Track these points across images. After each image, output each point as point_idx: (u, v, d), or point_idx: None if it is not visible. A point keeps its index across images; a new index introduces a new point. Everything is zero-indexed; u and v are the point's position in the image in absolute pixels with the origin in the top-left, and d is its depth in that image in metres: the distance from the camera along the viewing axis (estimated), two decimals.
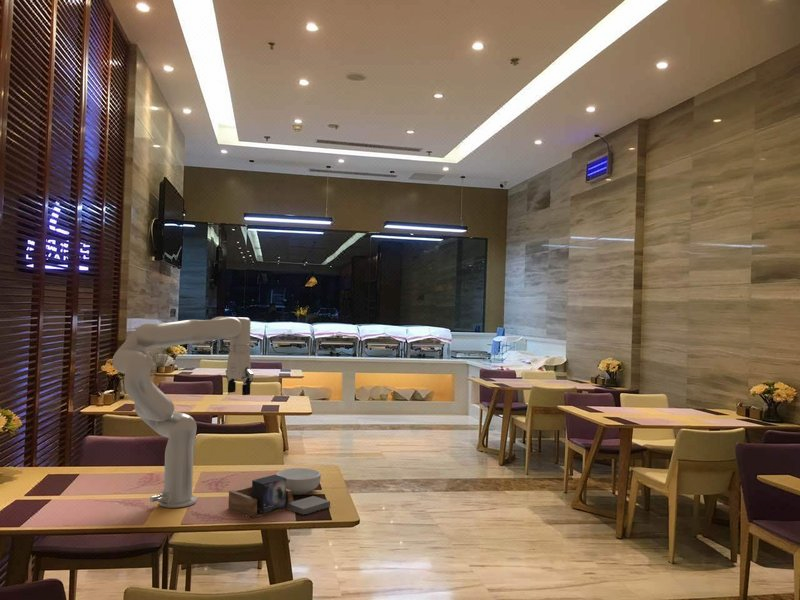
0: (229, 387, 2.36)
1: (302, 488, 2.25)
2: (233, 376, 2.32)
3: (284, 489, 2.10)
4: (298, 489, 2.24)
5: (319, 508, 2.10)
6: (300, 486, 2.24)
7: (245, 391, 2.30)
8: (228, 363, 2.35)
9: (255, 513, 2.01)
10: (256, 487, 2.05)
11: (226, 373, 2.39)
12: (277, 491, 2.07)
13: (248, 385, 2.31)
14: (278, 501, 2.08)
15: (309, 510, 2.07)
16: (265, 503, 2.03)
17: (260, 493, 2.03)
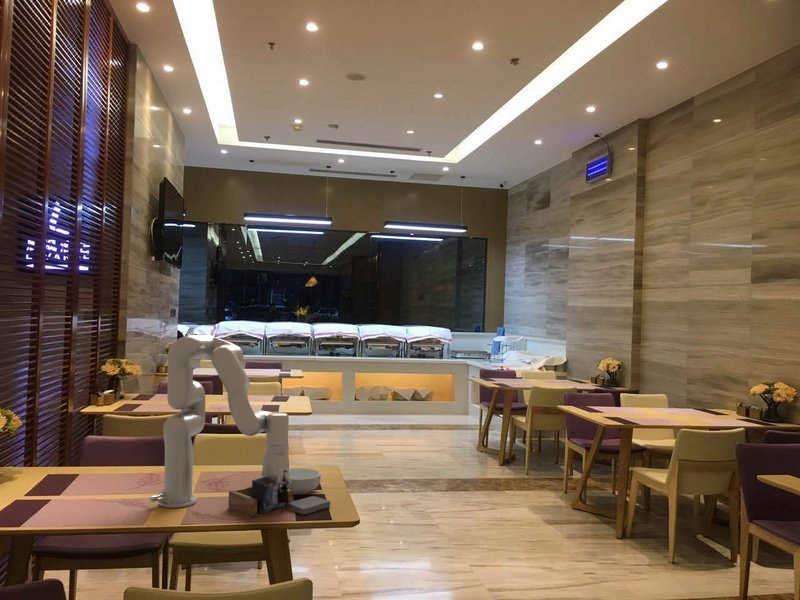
0: None
1: (302, 488, 2.25)
2: None
3: None
4: (298, 489, 2.24)
5: (319, 508, 2.10)
6: (300, 486, 2.24)
7: (281, 499, 2.07)
8: (264, 464, 2.11)
9: (255, 513, 2.01)
10: (256, 487, 2.05)
11: None
12: (277, 491, 2.07)
13: (284, 492, 2.08)
14: None
15: (309, 510, 2.07)
16: (265, 503, 2.03)
17: (260, 493, 2.03)
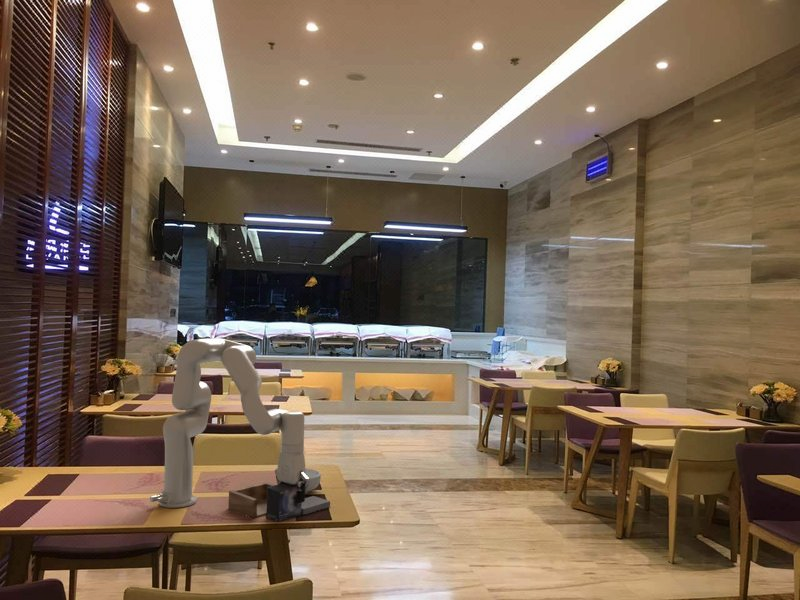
0: None
1: None
2: (285, 480, 2.03)
3: None
4: None
5: (319, 508, 2.10)
6: None
7: (300, 498, 2.01)
8: (279, 464, 2.06)
9: (255, 513, 2.01)
10: (271, 495, 1.99)
11: (276, 473, 2.10)
12: (293, 498, 2.02)
13: (303, 491, 2.01)
14: (294, 509, 2.02)
15: (309, 510, 2.07)
16: (281, 511, 1.98)
17: (276, 501, 1.98)
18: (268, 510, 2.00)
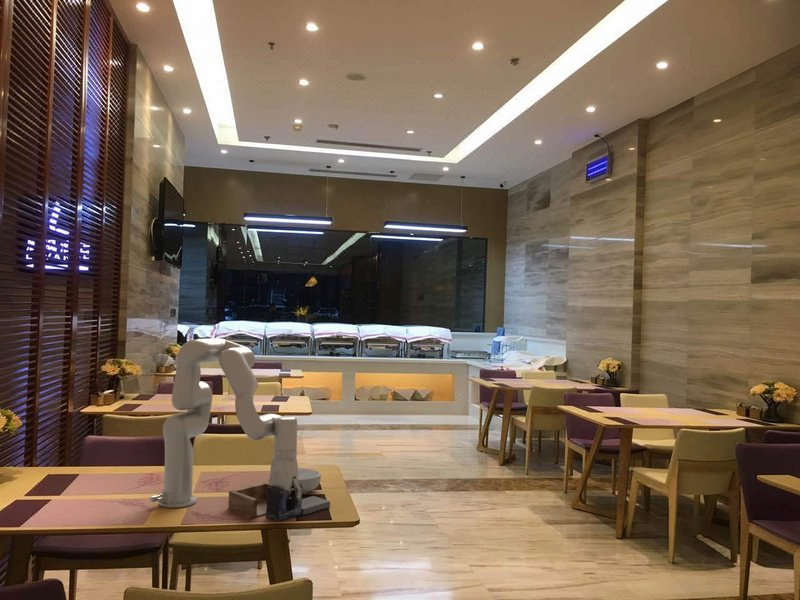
0: None
1: (302, 488, 2.25)
2: (278, 486, 2.00)
3: (300, 496, 2.04)
4: None
5: (319, 508, 2.10)
6: None
7: (290, 506, 1.99)
8: (272, 470, 2.03)
9: (255, 513, 2.01)
10: (271, 494, 1.99)
11: None
12: None
13: (293, 499, 2.00)
14: (294, 509, 2.02)
15: (309, 510, 2.07)
16: (281, 511, 1.98)
17: (276, 501, 1.98)
18: (268, 510, 2.00)
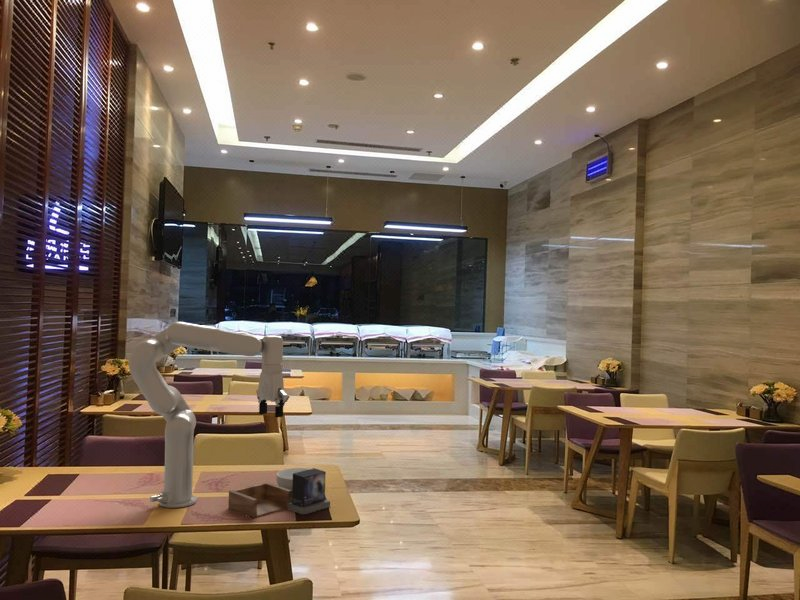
0: (260, 408, 2.26)
1: None
2: (265, 397, 2.21)
3: (323, 482, 2.14)
4: None
5: (319, 508, 2.10)
6: None
7: (278, 413, 2.19)
8: (260, 383, 2.24)
9: (255, 513, 2.01)
10: (297, 480, 2.09)
11: (257, 393, 2.29)
12: (317, 484, 2.12)
13: (281, 407, 2.20)
14: (318, 494, 2.12)
15: (309, 510, 2.07)
16: (306, 496, 2.08)
17: (301, 486, 2.08)
18: (294, 495, 2.10)
